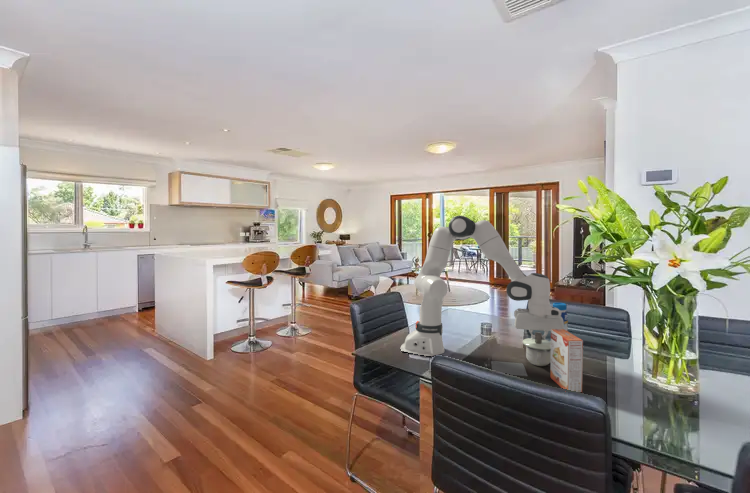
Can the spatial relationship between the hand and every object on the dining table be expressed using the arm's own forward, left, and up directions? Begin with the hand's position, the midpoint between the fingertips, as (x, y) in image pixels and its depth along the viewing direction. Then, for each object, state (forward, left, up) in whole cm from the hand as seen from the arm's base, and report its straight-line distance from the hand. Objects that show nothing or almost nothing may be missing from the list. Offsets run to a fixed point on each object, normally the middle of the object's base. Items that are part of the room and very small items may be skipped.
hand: (538, 339), depth 159 cm
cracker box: (+7, -20, -12) cm, 24 cm away
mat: (-13, -8, -12) cm, 20 cm away
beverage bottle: (+18, +41, -12) cm, 46 cm away
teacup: (0, 0, -12) cm, 12 cm away
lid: (0, 0, -2) cm, 2 cm away
